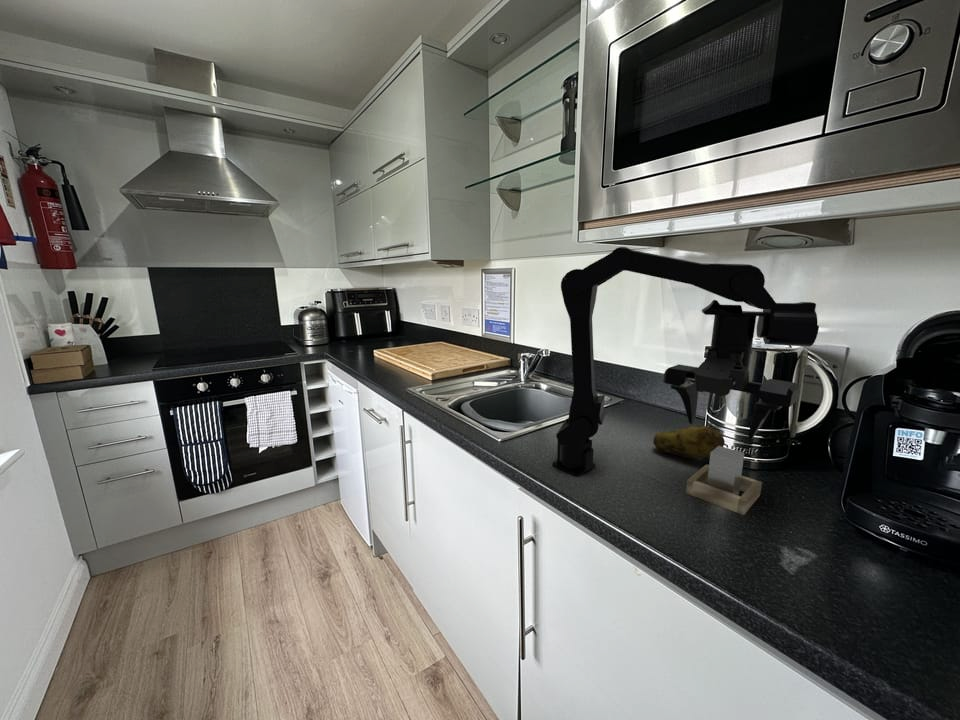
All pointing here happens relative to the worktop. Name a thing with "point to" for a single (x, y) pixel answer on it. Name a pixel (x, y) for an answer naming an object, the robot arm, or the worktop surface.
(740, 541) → the worktop surface
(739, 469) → the brushed grey square prism
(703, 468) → the frame
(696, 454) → the potato
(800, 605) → the worktop surface
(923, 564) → the worktop surface
